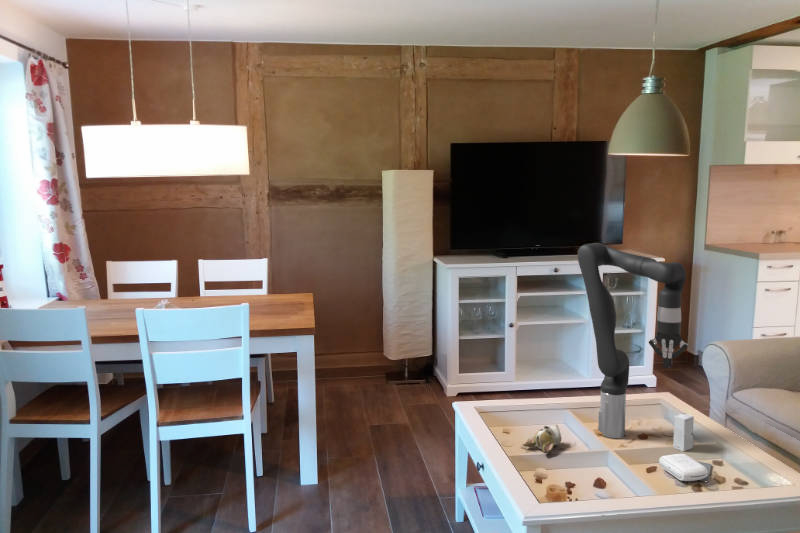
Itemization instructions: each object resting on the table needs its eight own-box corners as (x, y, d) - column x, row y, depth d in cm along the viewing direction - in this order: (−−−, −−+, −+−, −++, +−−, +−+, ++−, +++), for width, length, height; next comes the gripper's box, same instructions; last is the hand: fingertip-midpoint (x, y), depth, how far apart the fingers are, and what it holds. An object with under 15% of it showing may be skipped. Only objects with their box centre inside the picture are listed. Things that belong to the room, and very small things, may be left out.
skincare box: (684, 452, 210) (685, 419, 208) (672, 447, 213) (673, 416, 212) (693, 447, 213) (694, 416, 212) (681, 443, 217) (683, 412, 215)
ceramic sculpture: (569, 424, 215) (545, 437, 205) (569, 446, 216) (546, 460, 206) (544, 416, 223) (520, 429, 213) (545, 438, 224) (521, 451, 214)
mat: (672, 475, 192) (672, 473, 192) (677, 458, 204) (677, 457, 204) (708, 482, 187) (708, 480, 187) (711, 465, 199) (711, 463, 199)
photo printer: (657, 467, 196) (684, 485, 185) (658, 455, 196) (684, 472, 184) (683, 463, 199) (711, 481, 187) (684, 452, 198) (712, 468, 186)
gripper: (646, 319, 202) (645, 368, 204) (688, 323, 195) (686, 373, 197) (650, 315, 209) (648, 362, 211) (691, 319, 202) (689, 367, 204)
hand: (667, 367), depth 204 cm, fingers closed
